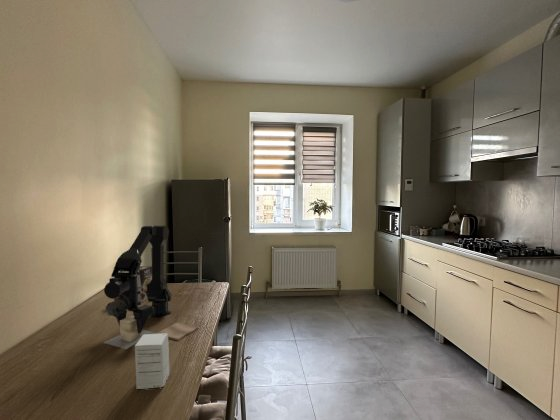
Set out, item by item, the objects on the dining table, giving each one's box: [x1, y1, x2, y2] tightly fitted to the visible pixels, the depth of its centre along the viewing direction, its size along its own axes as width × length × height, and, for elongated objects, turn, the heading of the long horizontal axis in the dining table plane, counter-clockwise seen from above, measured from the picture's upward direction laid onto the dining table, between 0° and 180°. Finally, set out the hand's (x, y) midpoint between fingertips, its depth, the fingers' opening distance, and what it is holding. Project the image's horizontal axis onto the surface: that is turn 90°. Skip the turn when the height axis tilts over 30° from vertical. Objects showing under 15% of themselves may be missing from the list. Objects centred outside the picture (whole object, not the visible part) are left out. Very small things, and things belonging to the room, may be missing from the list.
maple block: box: [119, 315, 141, 342], centre depth 120 cm, size 5×5×7 cm
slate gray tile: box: [102, 329, 157, 350], centre depth 120 cm, size 14×12×1 cm
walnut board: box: [155, 322, 199, 341], centre depth 125 cm, size 11×11×1 cm
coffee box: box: [137, 265, 152, 303], centre depth 165 cm, size 9×6×16 cm
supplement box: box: [134, 333, 171, 390], centre depth 91 cm, size 7×7×13 cm
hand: (130, 331), depth 120 cm, fingers open, 9 cm apart
